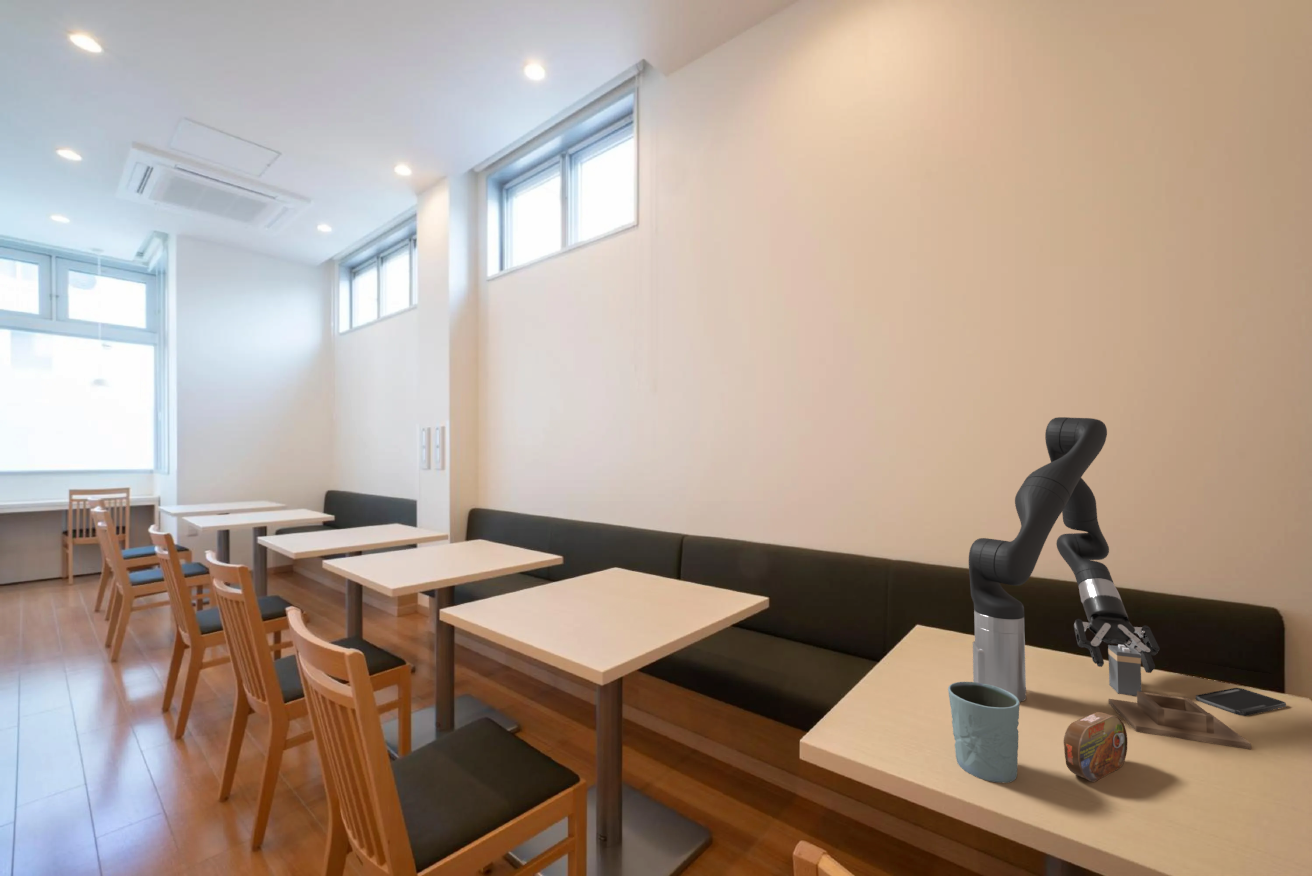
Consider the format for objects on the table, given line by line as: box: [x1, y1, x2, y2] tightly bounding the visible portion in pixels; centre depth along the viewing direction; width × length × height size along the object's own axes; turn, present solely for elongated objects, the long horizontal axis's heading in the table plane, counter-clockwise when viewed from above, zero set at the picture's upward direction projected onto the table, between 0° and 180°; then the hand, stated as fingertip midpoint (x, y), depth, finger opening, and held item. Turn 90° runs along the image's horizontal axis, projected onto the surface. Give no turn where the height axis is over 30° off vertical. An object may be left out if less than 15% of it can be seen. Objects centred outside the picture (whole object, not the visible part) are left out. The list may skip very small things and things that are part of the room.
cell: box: [1107, 644, 1142, 697], centre depth 116 cm, size 4×5×10 cm
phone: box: [1195, 687, 1287, 717], centre depth 110 cm, size 8×1×15 cm
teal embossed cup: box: [947, 681, 1020, 784], centre depth 87 cm, size 10×10×12 cm
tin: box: [1063, 711, 1128, 783], centre depth 86 cm, size 15×3×8 cm, turn 116°
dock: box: [1108, 691, 1252, 750], centre depth 101 cm, size 16×12×4 cm
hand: (1125, 668), depth 115 cm, fingers open, 8 cm apart
